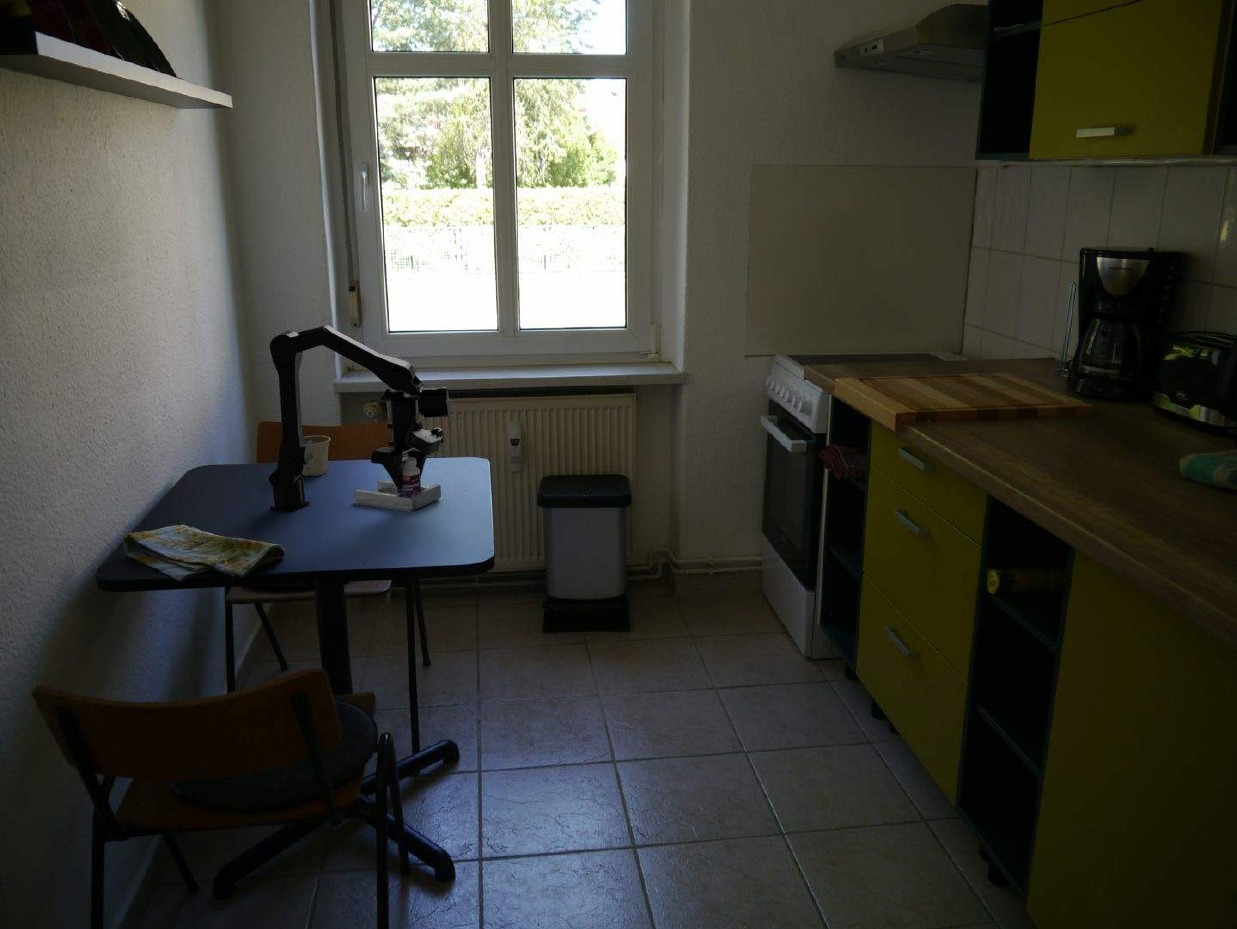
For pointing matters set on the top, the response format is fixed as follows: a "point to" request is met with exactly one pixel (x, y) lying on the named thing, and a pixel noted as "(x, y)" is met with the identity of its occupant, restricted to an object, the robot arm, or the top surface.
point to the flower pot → (317, 455)
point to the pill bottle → (410, 478)
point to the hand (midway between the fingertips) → (409, 484)
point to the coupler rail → (396, 497)
